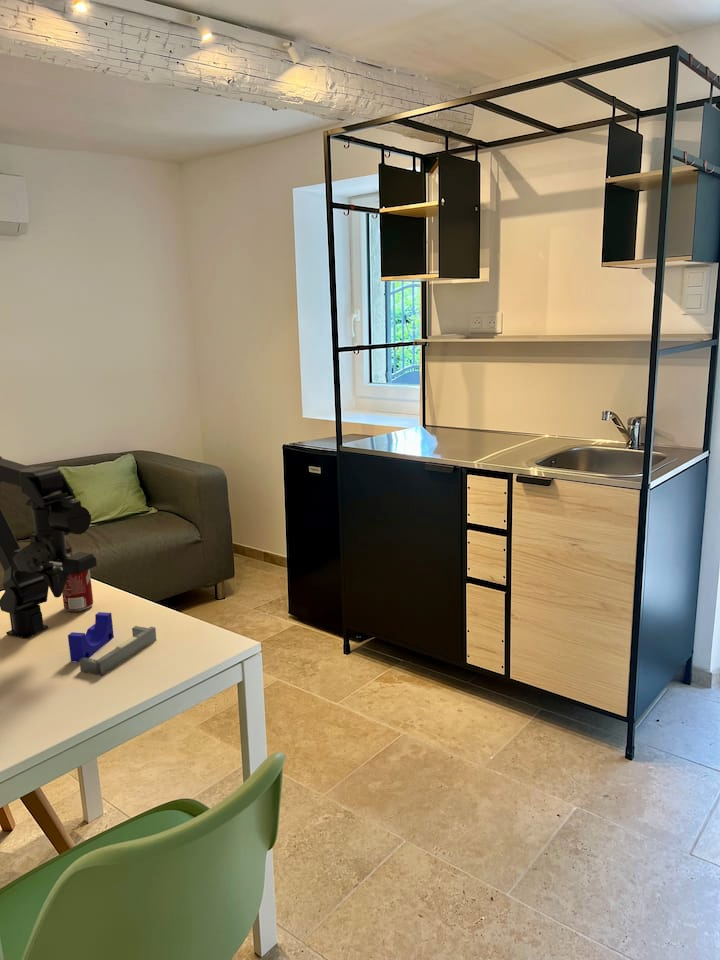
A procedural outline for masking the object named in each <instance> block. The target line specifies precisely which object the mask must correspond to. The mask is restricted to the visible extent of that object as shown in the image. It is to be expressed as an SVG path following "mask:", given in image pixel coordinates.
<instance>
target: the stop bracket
mask: <svg viewBox="0 0 720 960" xmlns="http://www.w3.org/2000/svg"><path fill="white" fill-rule="evenodd" d="M131 630H132V636H131V637H129V638H128V639H126V640H124V641H123V642H120V644H118V645H116V646H115V648H114V649H112V650H111V651H109V652H107V653H105V655H102V656H101V657H99V658H98V659H95V658H91V657H90V658H85V657H83V658H82V659H80V660H79V661H80V662H79V667H80V668H79V669H80V672H83V673H87V674H93V675H97V676H101V677H102V676H104V675H105V674H107V673H108V672H110V671H111V670H113V669H114V668H116V667H118V666H119V665H120V664H122V663H124V662H126V660H129V658H131V657H133V656H134V655H136V654H137V653H139V652H140V651H142V650H144V649H145V648H146V647H148V646H150V645H151V644H153V643H154V642H156V641H157V634H156V633H157V631H156V627H155V626H149V627H143V626H138V625H134V626H133V627H132V628H131Z"/></svg>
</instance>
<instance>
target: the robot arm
mask: <svg viewBox="0 0 720 960" xmlns="http://www.w3.org/2000/svg"><path fill="white" fill-rule="evenodd" d="M2 483H6V484H9V485H13V486H15V487H18V488H20V492H21V493H22V494H23V495H25V496H26V497H27V498H29V499H28V500H27V501H26V502H25V506H28V507H31V511H32V512H31V513H32V519H33V526H34V533H32V534H30V537H29V540H30V543H28V545H25V546H23V547H21V546H20V545H19V542H18V541H17V539H16V537H15V534H14V532H13V530H12V529H11V526H10V524H9V522H8V520H7V518H6V516H5V515H4V513H3V511H2V508H1V507H0V564H1V567H2V569H3V571H4V573H3V581H2V587H3V589H4V593H3V594H2V595H1V596H0V611H2V612H5V613H7V614H9V618H10V629H11V630H8V631H6V632H5V633H6V634H7V635H6V636H10V637H15V638H21V639H30V638H32V637H34V636H35V635H37V634H39V633H42V632H43V631H45V630H47V629H48V628H49V625H48V624H44V619H43V613H42V609H41V604H44V603H46V602H47V601H48V596H49V589H50V591H51V593H52V595H53V597H54V598H60V597H61V596H62V592H63V589H64V587H65V584H66V581H67V579H68V576H69V574H70V573H71V574H80V573H82V572H84V571H86V570H88V569H90V570H91V569H93V568H95V567H97V565H98V564H97V563H98V562H97V557H96V555H95V554H93V553H90V552H84V551H82V552H81V551H78V552H77V553H74V554H72V555H68V554H70V553H72V547H69V546H67V542H66V540H67V539H66V536H67V535H70V534H74V535H82V534H84V533H86V532H87V531H88V529H89V528H90V526H91V523H92V515H91V513H90V512H89V510H88V509H87V508H86V507H84V506H82V502H81V500H77V499H76V498H77V497H76V495H75V493H74V489H73V488H72V487H71V485H70V484H69V482H68V481H67V479H66V477H65V475H64V473H63V472H62V471H61V470H60V469H59V468H58V467H56V466H34V467H32V466H30V465H29V466H28V465H25V464H22V463H18V462H16V461H12V460H9V459H6V458H3V457H2V456H0V485H1V484H2ZM0 495H1V490H0Z"/></svg>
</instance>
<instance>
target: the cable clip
mask: <svg viewBox="0 0 720 960" xmlns="http://www.w3.org/2000/svg"><path fill="white" fill-rule="evenodd" d="M112 617H113V616H112V612H106V611H105V612H104V611H103V612H102V611H98V612H97V613H96V614H95V618H94V620H95V621H94V624H93V625H91V626H89V628H87V630H86V633H85V632H77V631H76V632H72V631H71V632H70V633H69V634H67V638H68V639H67V640H68V649H69V655H70V657H69V658H70V662H73V661H76V663H80V661H79V660H80V659H82V658H83V657H85V658H90V659H91V657H92V656H93V655H94V653H95V654H96V653H97V652H98V651H100V649H102V648H103V647H104V646H105V645H106V644H108V643H109V642H110V641H111V640H112V639H113V638H114V637H115V636H114V625H113V619H112Z"/></svg>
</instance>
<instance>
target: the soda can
mask: <svg viewBox="0 0 720 960" xmlns="http://www.w3.org/2000/svg"><path fill="white" fill-rule="evenodd" d="M90 570H91V569H88V570H86V571H84V572H82V573H80V574H71V573H70V574H69V576H68V579H67V581H66V584H65V587H64V589H63V592H62V594H61V596H62V603H63V607H64V609H65V610H67V611H70V612H74V613H76V612H81V611H83V612H84V611H86V610H88V609H89V608H90V607H92V606H93V604H94V596H93V587H92V580H91V579H92V578H91V571H90Z"/></svg>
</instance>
